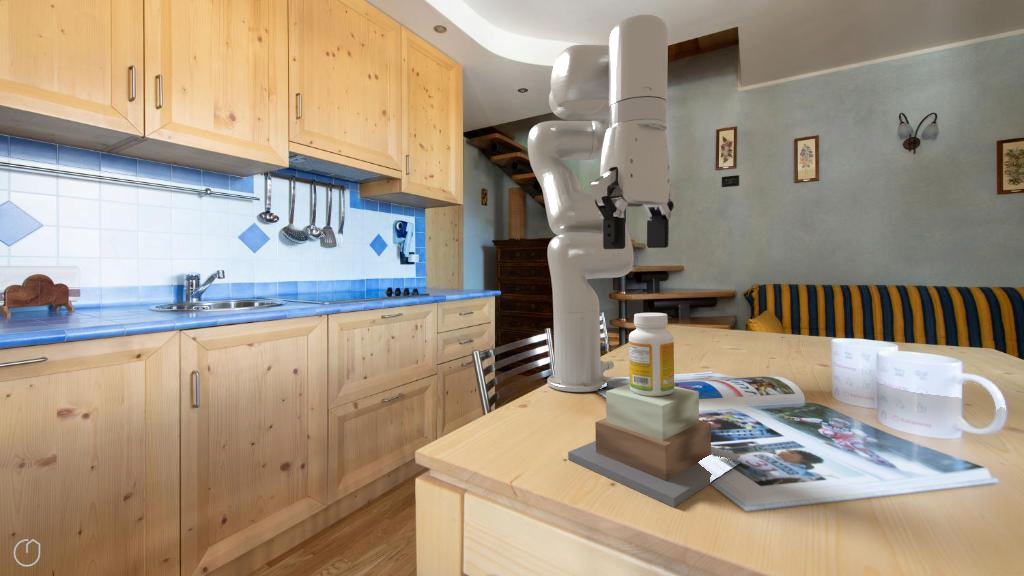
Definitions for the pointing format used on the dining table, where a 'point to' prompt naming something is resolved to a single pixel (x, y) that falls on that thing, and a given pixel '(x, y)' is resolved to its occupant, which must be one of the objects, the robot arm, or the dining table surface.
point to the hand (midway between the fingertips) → (636, 248)
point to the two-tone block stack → (653, 431)
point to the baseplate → (647, 484)
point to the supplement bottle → (651, 355)
